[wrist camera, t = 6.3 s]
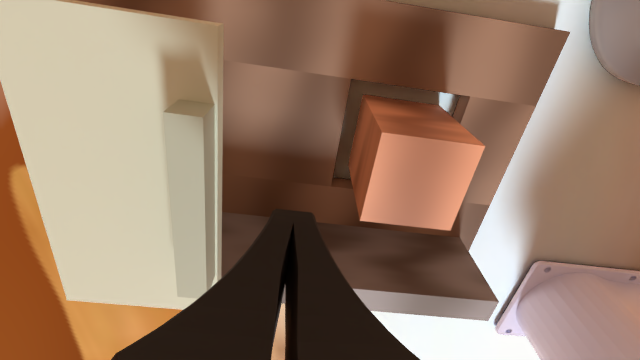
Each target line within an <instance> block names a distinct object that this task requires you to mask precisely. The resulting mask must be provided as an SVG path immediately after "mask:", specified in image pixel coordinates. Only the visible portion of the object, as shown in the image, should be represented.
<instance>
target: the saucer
mask: <svg viewBox="0 0 640 360" xmlns="http://www.w3.org/2000/svg"><path fill="white" fill-rule="evenodd" d="M589 29H590V38H591V43H592V47H593V50H594V52H595V55H596V57H597V59H598V60H599V62H600V63H601V65H602V66H603V67H604V68H605V69H606V70H607V71H608V72H609V73H610V74H612V75H613V76H615V77H616V78H618V79H620V80H623V81H625V82H628V83H631V84H635V85H638V86H640V0H592V3H591V9H590V20H589Z"/></svg>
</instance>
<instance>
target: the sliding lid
mask: <svg viewBox="0 0 640 360" xmlns="http://www.w3.org/2000/svg"><path fill="white" fill-rule="evenodd" d="M223 44H224V24H222V23H216V22H209V21H203V20H197V19H190V18H184V17H178V16H171V15H165V14H158V13H152V12H146V11H139V10H133V9H127V8H120V7H114V6H107V5H101V4H95V3H88V2H82V1H76V0H0V80H1V84H2V87H3V90H4V94H5V97H6V100H7V104H8V106H9V110H10V113H11V117H12V120H13V123H14V127H15V130H16V133H17V136H18V140H19V143H20V146H21V150H22V153H23V156H24V160H25V163H26V166H27V169H28V173H29V176H30V179H31V183H32V186H33V189H34V193H35V196H36V199H37V202H38V206H39V209H40V212H41V216H42V219H43V222H44V226H45V229H46V232H47V235H48V239H49V242H50V245H51V249H52V252H53V255H54V258H55V262H56V265H57V268H58V272H59V275H60V278H61V282H62V285H63V288H64V291H65V295H66V298H67V300H71V301H83V302H96V303H108V304H120V305H132V306H145V307H157V308H169V309H181V310H184V309H185V308H187V307H188V306H189V305H191V304H192V303H193V302H194V301H196V300H197V299H198V298H199V297H201V296H202V295H203V294H204V293H205V292H206V291H208V290H209V289H210V288H211V287H212V286H213V285H214V284H216V283H217V282H218V281H219V280H220V279H221V264H222V154H223Z"/></svg>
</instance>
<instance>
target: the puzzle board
mask: <svg viewBox="0 0 640 360" xmlns="http://www.w3.org/2000/svg"><path fill="white" fill-rule="evenodd" d="M76 1H82V2H88V3H95V4H101V5H107V6H114V7H120V8H127V9H133V10H139V11H146V12H152V13H158V14H165V15H171V16H178V17H184V18H190V19H197V20H203V21H209V22H216V23H222V24H224V44H223V154H222V264H221V278H222V277H223V276H224V275H225V274H226V273H227V272H228V271H229V270H230V269H231V268H232V267H233V266H234V265H235V264H236V263H237V261H238V260H239V259H240V258H241V257H242V256H243V254H244V253H245V252H246V251H247V250H248V249H249V247H250V246H251V245H252V243H253V242H254V241H255V239H256V238H257V237H258V235H259V234H260V232H261V231H262V229H263V228H264V226H265V225H266V223H267V221H268V220H269V218H270V216H271V214H272V211H273V210H275V209H284V210H293V211H302V212H311V213H313V214H314V216H315V219H316V222H317V225H318V228H319V230H320V232H321V235H322V237H323V239H324V241H325V244H326V245H327V247H328V249H329V251H330V253H331V255H332V257H333V259H334V261H335V262H336V264H337V266H338V267H339V269H340V271H341V272H342V274H343V276H344V277H345V279H346V280H347V282H348V283H349V284H350V286H351V287H352V289H353V290H354V291H355V293H356V294H357V295H358V297H359V298H360V299H361V300H362V302H363V303H364V304H365V305H366V307H367V308H368V309H369V310H370V311H380V312H392V313H403V314H415V315H427V316H438V317H450V318H462V319H474V320H485V321H488V320H489V318H490V316H491V315H492V313H493V311H494V309H495V308H496V306H497V304H498V302H499V301H498V300H497V298H496V296H495V295H494V293H493V292H492V290H491V288H490V287H489V285H488V283H487V282H486V280H485V278H484V277H483V275H482V273H481V272H480V270H479V268H478V267H477V265H476V263H475V262H474V260H473V258H472V257H471V255H470V254H469V252H468V251H469V249H470V247H471V244H472V242H473V240H474V238H475V236H476V234H477V232H478V229H479V227H480V225H481V223H482V221H483V219H484V216H485V214H486V212H487V210H488V208H489V206H490V204H491V201H492V199H493V197H494V195H495V193H496V191H497V189H498V186H499V184H500V182H501V180H502V178H503V176H504V173H505V171H506V169H507V167H508V165H509V163H510V161H511V158H512V156H513V154H514V152H515V150H516V148H517V145H518V143H519V141H520V139H521V137H522V135H523V133H524V130H525V128H526V126H527V124H528V122H529V120H530V117H531V115H532V113H533V111H534V109H535V107H536V105H537V102H538V100H539V98H540V96H541V94H542V92H543V89H544V87H545V85H546V83H547V81H548V79H549V77H550V74H551V72H552V70H553V68H554V66H555V64H556V61H557V59H558V57H559V55H560V53H561V51H562V49H563V46H564V44H565V42H566V40H567V38H568V36H569V34H570V32H567V31H561V30H556V29H550V28H544V27H538V26H532V25H526V24H520V23H514V22H509V21H503V20H497V19H491V18H485V17H479V16H473V15H467V14H461V13H456V12H450V11H444V10H438V9H432V8H426V7H420V6H414V5H409V4H403V3H397V2H391V1H385V0H76ZM351 79H355V80H362V81H369V82H376V83H382V84H389V85H396V86H403V87H410V88H416V89H423V90H430V91H437V92H443V93H450V94H457V95H460V97H459V100H458V103H457V106H456V108H455V111H454V114H453V118H454V119H455V120H456V121H457V122H458V123H460V124H461V125H462V126H463V127H464V128H465V129H466V130H468V131H469V132H470V133H471V134H472V135H473V136H474V137H475V138H477V139H478V140H479V141H480V142H481V143H482V144H483V145H485V148H484V151H483V153H482V156H481V158H480V160H479V163H478V165H477V168H476V170H475V172H474V175H473V177H472V180H471V182H470V184H469V187H468V189H467V192H466V194H465V196H464V199H463V201H462V204H461V206H460V208H459V211H458V213H457V216H456V218H455V221H454V223H453V225H452V228H451V230H450V231H449V230H439V229H430V228H421V227H412V226H403V225H394V224H385V223H375V222H366V221H360V219H359V214H358V209H357V205H356V200H355V195H354V190H353V186H352V181H351V180H349V179H341V178H333V173H334V167H335V162H336V157H337V151H338V146H339V141H340V135H341V130H342V125H343V120H344V114H345V109H346V104H347V98H348V93H349V88H350V82H351ZM282 303H285V288H284V293H283V298H282Z"/></svg>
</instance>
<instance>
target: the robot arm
mask: <svg viewBox="0 0 640 360" xmlns="http://www.w3.org/2000/svg"><path fill="white" fill-rule="evenodd" d="M284 288H285V329H286V347H285V360H420V359H419V358H418V357H416V356H415V355H414V354H413V353H412V352H410V351H409V350H408V349H407V348H406V347H405V346H404V345H403V344H402V343H400V342H399V341H398V340H397V339H396V338H395V337H394V336H393V335H392V334H391V333H390V332H389V331H388V330H387V329H386V328H385V327H384V326H383V325H382V323H381V322H380V321H379V320H378V319H377V318H376V317H375V316H374V315H373V314H372V313H371V311H370V310H369V309H368V308H367V307H366V305H365V304H364V303H363V302H362V300H361V299H360V298H359V297H358V295H357V294H356V293H355V291H354V290H353V289H352V287H351V286H350V284H349V283H348V282H347V280H346V279H345V277H344V276H343V274H342V272H341V271H340V269H339V267H338V266H337V264H336V262H335V261H334V259H333V257H332V255H331V253H330V251H329V249H328V247H327V245H326V244H325V241H324V239H323V237H322V235H321V232H320V230H319V228H318V225H317V222H316V219H315V216H314V214H313V213H311V212H302V211H293V210H284V209H275V210H273V211H272V214H271V216H270V218H269V220H268V221H267V223H266V225H265V226H264V228H263V229H262V231H261V232H260V234H259V235H258V237H257V238H256V239H255V241H254V242H253V243H252V245H251V246H250V247H249V249H248V250H247V251H246V252H245V253H244V254H243V256H242V257H241V258H240V259H239V260H238V261H237V263H236V264H235V265H234V266H233V267H232V268H231V269H230V270H229V271H228V272H227V273H226V274H225V275H224V276H223V277H222V278H221V279H220V280H219V281H218V282H217V283H216V284H214V285H213V286H212V287H211V288H210V289H209V290H208V291H206V292H205V293H204V294H203V295H202V296H201V297H199V298H198V299H197V300H196V301H194V302H193V303H192V304H191V305H189V306H188V307H187V308H185V309H184V310H182V311H181V312H180V313H178V314H177V315H176V316H174V317H173V318H171V319H170V320H169V321H167V322H166V323H164V324H163V325H162V326H160V327H159V328H157V329H156V330H154V331H152V332H151V333H149V334H147V335H146V336H144V337H143V338H141V339H139V340H138V341H136V342H134V343H133V344H131V345H129V346H128V347H126V348H125V349H123V350H121V351H119V352H118V353H116V354H115V355H114V357H113V358H112V359H111V360H271V354H272V347H273V342H274V337H275V332H276V327H277V322H278V317H279V313H280V308H281V303H282V298H283V293H284ZM495 330H496V331H497V333H498V334H503V335H516V336H526V337H527V339H528V340H529V342H530V343H531V345H532V347H533V348H534V350H535V351H536V353H537V355H538V356H539V358H540V359H541V360H640V271H634V270H624V269H614V268H605V267H595V266H585V265H576V264H566V263H556V262H547V261H537V262H535V263H534V264H533V265H532V267H531V268H530V270H529V272H528V273H527V275H526V277H525V278H524V280H523V282H522V283H521V285H520V287H519V288H518V290H517V292H516V293H515V295H514V297H513V298H512V300H511V302H510V303H509V305H508V307H507V308H506V310H505V312H504V313H503V315H502V317H501V318H500V320H499V322H498V324H497V325H496V327H495Z"/></svg>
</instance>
